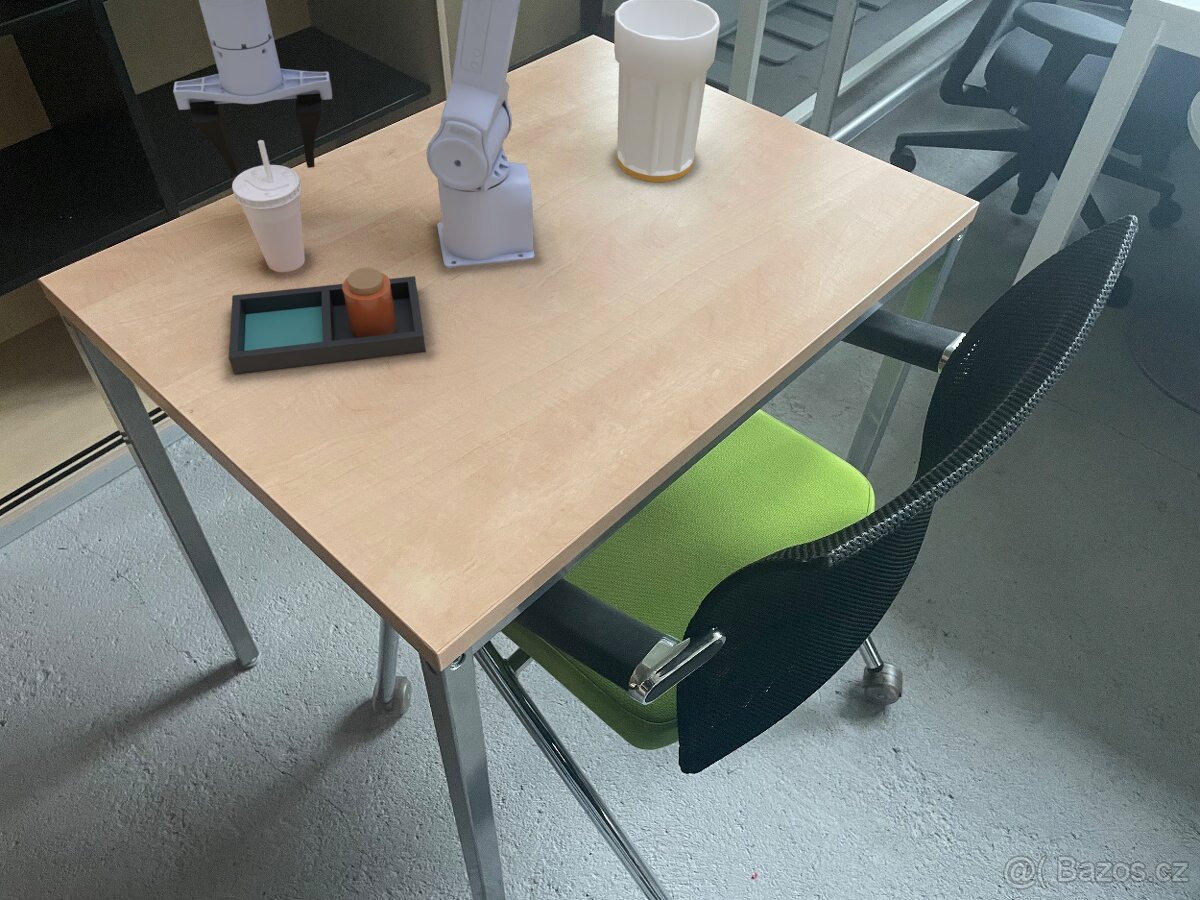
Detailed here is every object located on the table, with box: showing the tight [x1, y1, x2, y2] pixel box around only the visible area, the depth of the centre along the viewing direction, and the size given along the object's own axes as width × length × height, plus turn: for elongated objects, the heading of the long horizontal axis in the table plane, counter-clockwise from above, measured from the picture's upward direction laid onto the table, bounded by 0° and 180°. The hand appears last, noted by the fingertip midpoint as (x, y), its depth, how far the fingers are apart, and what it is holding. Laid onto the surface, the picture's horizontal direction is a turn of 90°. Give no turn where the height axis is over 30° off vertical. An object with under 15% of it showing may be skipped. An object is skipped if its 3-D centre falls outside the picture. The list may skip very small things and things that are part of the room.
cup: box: [613, 0, 721, 183], centre depth 108 cm, size 11×11×17 cm
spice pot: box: [342, 267, 397, 338], centre depth 90 cm, size 4×4×6 cm
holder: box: [228, 275, 427, 375], centre depth 91 cm, size 9×17×2 cm, turn 103°
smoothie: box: [231, 139, 306, 273], centre depth 94 cm, size 6×6×14 cm
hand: (273, 165), depth 99 cm, fingers open, 7 cm apart
